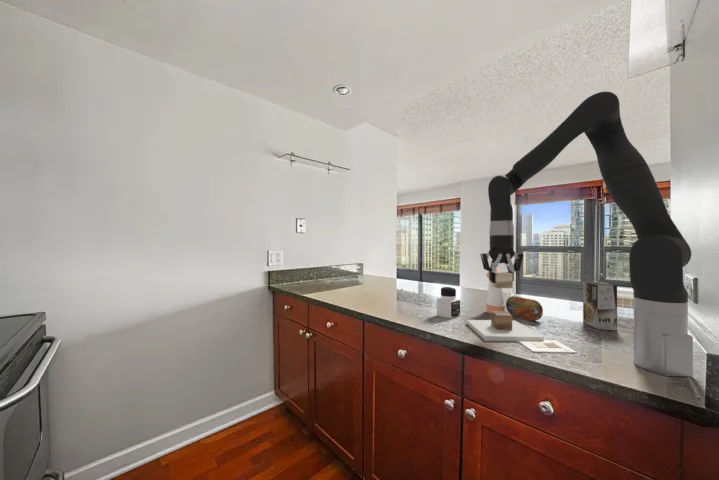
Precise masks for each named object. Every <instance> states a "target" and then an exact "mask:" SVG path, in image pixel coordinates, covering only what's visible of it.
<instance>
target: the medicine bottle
mask: <svg viewBox="0 0 719 480" xmlns="http://www.w3.org/2000/svg"><path fill="white" fill-rule="evenodd" d="M456 289H457V288H455V287H452V286H451V287H450V286H443V287H441V288H440V297H439V298H436V316H437V317H441V318H446V319H451V320H453V319H455V318H458V317H461V299H460V298H457V290H456Z"/></svg>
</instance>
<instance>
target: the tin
mask: <svg viewBox="0 0 719 480" xmlns="http://www.w3.org/2000/svg"><path fill="white" fill-rule="evenodd" d="M505 309H506V310H507V311H506V312H507V313H509V314H511V315H512V317H515V318H519V319H522V320H526V321H529V322H534V321H538V320H541V318H542V317H543V315H544V314H543V313H544V311H543V310H544V309H543V306H542V303H540V302H539V301H538V300H536V299H531V298H527V297H521V296H509V297H508V298H507V300H506V302H505Z"/></svg>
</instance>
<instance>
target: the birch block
mask: <svg viewBox="0 0 719 480" xmlns="http://www.w3.org/2000/svg"><path fill="white" fill-rule="evenodd" d="M513 282H514V281H513V273H508V271H500V272H495V283H491V286H493V287H496V288H502V289H514V286H513V285H514V283H513Z"/></svg>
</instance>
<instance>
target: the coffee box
mask: <svg viewBox="0 0 719 480" xmlns="http://www.w3.org/2000/svg"><path fill="white" fill-rule="evenodd" d="M582 295H583V296H582V302H583V303H582V306H583V307H582V308H583V309H582V310H583V311H582V312H583V314H582V316H583V320H582V321H583V323H584V324H586V325H587V326H590V327H592V328H594V329H597V330H606V331H608V330H609V331H618V284H614V283H611V282H610V283H609V282H604V281H594V280H593V281H582Z"/></svg>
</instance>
